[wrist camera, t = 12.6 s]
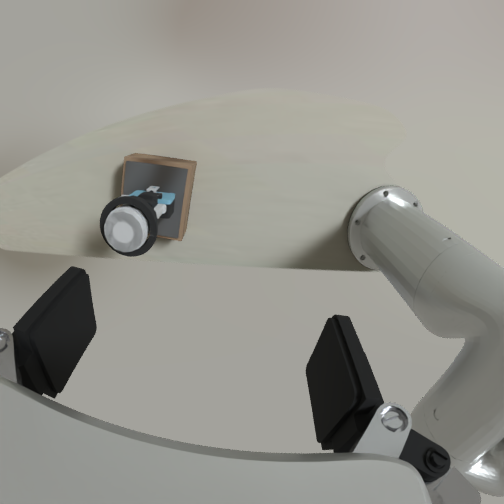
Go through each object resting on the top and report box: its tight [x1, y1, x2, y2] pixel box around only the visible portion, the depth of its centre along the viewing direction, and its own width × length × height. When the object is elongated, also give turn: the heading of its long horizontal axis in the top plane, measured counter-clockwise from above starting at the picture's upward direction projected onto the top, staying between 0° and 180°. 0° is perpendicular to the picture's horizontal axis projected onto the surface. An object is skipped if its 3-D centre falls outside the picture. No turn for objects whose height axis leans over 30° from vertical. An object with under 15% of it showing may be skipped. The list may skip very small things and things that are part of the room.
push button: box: [100, 186, 175, 256], centre depth 25 cm, size 7×5×10 cm
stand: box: [120, 153, 197, 241], centre depth 32 cm, size 8×9×4 cm
